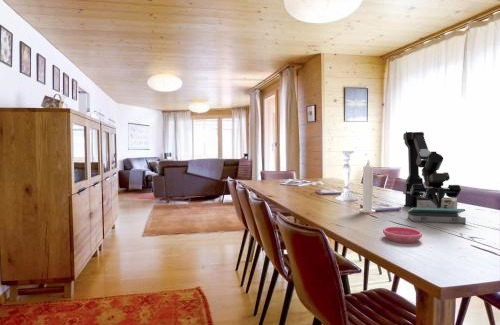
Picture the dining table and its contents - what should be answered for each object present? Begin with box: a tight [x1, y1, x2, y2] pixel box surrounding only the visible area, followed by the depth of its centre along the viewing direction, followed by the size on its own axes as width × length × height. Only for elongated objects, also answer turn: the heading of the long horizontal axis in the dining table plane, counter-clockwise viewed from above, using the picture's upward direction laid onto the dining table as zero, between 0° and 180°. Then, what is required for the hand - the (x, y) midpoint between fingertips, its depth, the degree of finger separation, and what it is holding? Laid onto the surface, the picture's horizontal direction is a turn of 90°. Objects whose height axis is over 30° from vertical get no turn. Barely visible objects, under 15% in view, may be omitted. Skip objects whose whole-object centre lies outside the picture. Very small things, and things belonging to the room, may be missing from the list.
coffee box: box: [416, 194, 458, 209], centre depth 163 cm, size 9×6×16 cm
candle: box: [359, 159, 376, 214], centre depth 161 cm, size 7×7×25 cm
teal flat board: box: [407, 211, 467, 225], centre depth 142 cm, size 9×20×2 cm, turn 80°
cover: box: [407, 207, 466, 215], centre depth 143 cm, size 8×20×1 cm, turn 80°
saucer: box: [382, 226, 423, 244], centre depth 116 cm, size 12×12×3 cm
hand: (439, 207), depth 138 cm, fingers closed
